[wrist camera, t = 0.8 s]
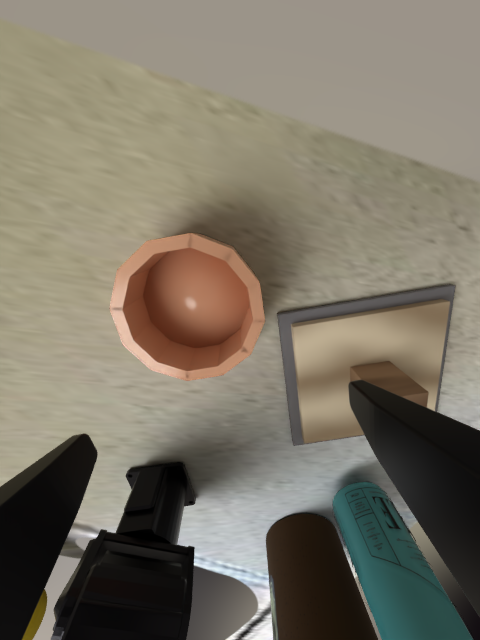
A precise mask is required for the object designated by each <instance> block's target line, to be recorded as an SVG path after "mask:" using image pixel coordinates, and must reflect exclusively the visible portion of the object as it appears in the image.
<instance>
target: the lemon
mask: <svg viewBox="0 0 480 640" xmlns="http://www.w3.org/2000/svg"><path fill="white" fill-rule="evenodd" d="M46 606H47V594H46V591H45V589H44V591H43V593H42V595H41V597H40V600H39V602H38V604H37V607H36V609H35V611H34V613H33V616H32V618H31V620H30V623H29V625H28V627H27V629H26V632H25V634H24V636H23V638H22V640H32V639H33V638H34V636H35V634H36V632H37V630H38V629H39V626H40V624H41V622H42V620H43V617H44V614H45V611H46Z"/></svg>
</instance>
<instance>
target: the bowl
mask: <svg viewBox="0 0 480 640" xmlns="http://www.w3.org/2000/svg"><path fill="white" fill-rule="evenodd" d="M109 309H110V312H111V314H112V317H113V320H114V322H115V325H116V328H117V330H118V333H119V336H120V338H121V341H122V344H123V345H124V346H125V347H126V348H127V349H128V350H129V351H130V352H131V353H133V354H134V355H135V356H136V357H137V358H138V359H139V360H140V361H141V362H143V363H144V364H145V365H146V366H147V367H148V368H149V369H150V370H152V371H155V372H158V373H162V374H165V375H169V376H172V377H175V378H179V379H182V380H186V381H190V380H196V379H202V378H209V377H215V376H221V375H224V374H225V373H226V372H228V371H229V370H230V369H232V368H233V367H234V366H236V365H237V364H238V363H240V362H241V361H243V360H244V359H245V358H247V357H248V356H249V355H251V353H252V351H253V348H254V346H255V344H256V341H257V339H258V337H259V334H260V332H261V330H262V327H263V325H264V323H265V317H264V309H263V302H262V295H261V288H260V282H259V280H258V279H257V277H256V275H255V273H254V272H253V271H252V270H251V268H250V267H249V266H248V265H247V263H246V262H245V261H244V260H243V258H242V257H241V256H240V255H239V253H238V252H237V251H236V250H235V248H234V247H233V246H231V245H228V244H225V243H223V242H220V241H218V240H215V239H213V238H210V237H207V236H205V235H202V234H197V233H188V234H182V235H176V236H171V237H165V238H160V239H154V240H149V241H146V242H145V243H144V244H143V245H142V246H141V247H140V248H139V249H138V250H137V251H136V252H135V253H134V254H133V255H132V256H131V257H130V258H129V259H128V260H127V261H126V262H125V263H124V264H123V265H121V266H120V267H119V268H118V269H117V273H116V278H115V283H114V288H113V293H112V298H111V303H110V308H109Z"/></svg>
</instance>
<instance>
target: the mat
mask: <svg viewBox="0 0 480 640" xmlns="http://www.w3.org/2000/svg"><path fill="white" fill-rule="evenodd" d="M455 286H456V285H451V284H449V285H443V286H437V287H431V288H425V289H419V290H413V291H407V292H401V293H395V294H389V295H383V296H378V297H372V298H366V299H360V300H354V301H348V302H342V303H336V304H330V305H324V306H318V307H312V308H306V309H300V310H294V311H288V312H282V313H277V316H278V324H279V332H280V341H281V349H282V357H283V366H284V374H285V382H286V391H287V399H288V407H289V416H290V424H291V433H292V441H293V445H294V446H295V445H302V444H304V441H303V438H302V429H301V420H300V410H299V400H298V390H297V380H296V370H295V360H294V350H293V340H292V330H291V324H293V323H299V322H305V321H311V320H317V319H324V318H330V317H336V316H342V315H348V314H354V313H360V312H366V311H372V310H378V309H384V308H390V307H396V306H402V305H408V304H414V303H420V302H426V301H432V300H438V299H444V300H447V301H450V306H449V313H448V320H447V327H446V334H445V341H444V348H443V355H442V362H441V369H440V376H439V384H438V391H437V398H436V405H435V411H436V412H437V409H438V402H439V395H440V388H441V381H442V374H443V368H444V361H445V354H446V347H447V340H448V333H449V327H450V320H451V313H452V306H453V299H454V292H455ZM359 436H362V435H359ZM352 437H356V436H352ZM345 438H349V437H345ZM339 439H342V438H339ZM332 440H336V439H332ZM325 441H329V440H325ZM318 442H322V441H318ZM312 443H316V442H312ZM305 444H309V443H305Z"/></svg>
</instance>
